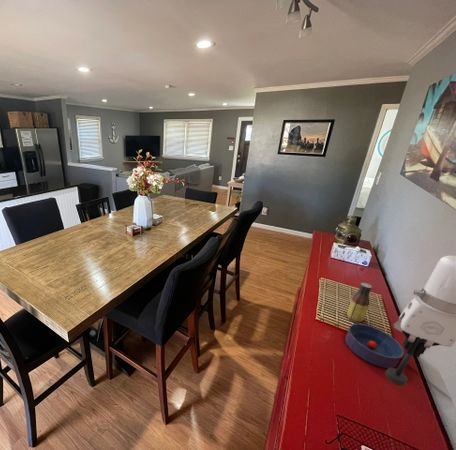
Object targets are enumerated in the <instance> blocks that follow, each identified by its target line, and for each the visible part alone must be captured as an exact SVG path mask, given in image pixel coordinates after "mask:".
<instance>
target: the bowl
mask: <svg viewBox="0 0 456 450" xmlns="http://www.w3.org/2000/svg"><path fill="white" fill-rule="evenodd" d="M344 340H345V343H346V345H347V347H348V348H349V349H350V350H351V351H352V352H353V353H354V354H355V355H356V356H357V357H359V358H361V359H362V360H364V361H365V362H368V363H370V364H372V365H374V366H377V367H380V368H385V369H386V368H387V369H388V368H396V367H398V366H399V364H400V363H401V361H402V359H403V356H405V352H404V351H405V350H404V347H403V346H402V345H401V344H400V343H399V342H398V341H397V340H396V339H395V338H394V337H392V336H391V335H390V334H388V333H387V332H385V331H384V330H381V329H380V328H378V327H374V326H371V325H368V324H364V323H353V324H352V325H350V326H349V328H348V329H347V332H346V334H345V337H344ZM368 341H374V342H375V343H376V344H377V348H375V349H372V348H370V347H369V346H368Z"/></svg>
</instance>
